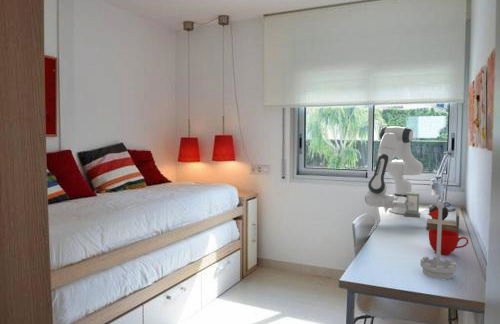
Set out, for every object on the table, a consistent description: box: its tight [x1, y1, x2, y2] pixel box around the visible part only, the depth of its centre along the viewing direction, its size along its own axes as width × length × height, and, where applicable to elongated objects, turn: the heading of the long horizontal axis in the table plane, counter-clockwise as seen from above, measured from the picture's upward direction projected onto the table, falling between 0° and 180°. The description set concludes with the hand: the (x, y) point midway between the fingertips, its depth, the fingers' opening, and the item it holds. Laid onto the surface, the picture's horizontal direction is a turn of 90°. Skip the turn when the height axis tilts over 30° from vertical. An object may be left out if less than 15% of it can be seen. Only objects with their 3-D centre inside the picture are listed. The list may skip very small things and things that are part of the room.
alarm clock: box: [428, 197, 449, 220], centre depth 247 cm, size 11×5×16 cm, turn 84°
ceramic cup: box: [428, 229, 469, 256], centre depth 179 cm, size 13×17×10 cm
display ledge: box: [426, 211, 460, 234], centre depth 228 cm, size 14×17×10 cm
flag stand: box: [419, 201, 457, 280], centre depth 151 cm, size 13×13×30 cm
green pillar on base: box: [403, 191, 421, 219], centre depth 236 cm, size 9×9×14 cm
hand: (414, 203), depth 235 cm, fingers closed on green pillar on base, 4 cm apart
